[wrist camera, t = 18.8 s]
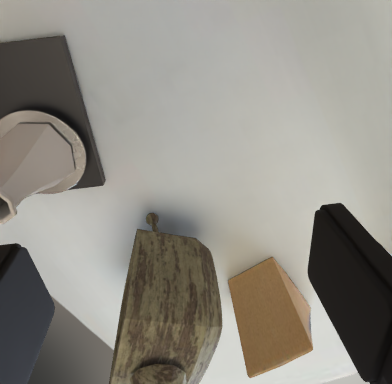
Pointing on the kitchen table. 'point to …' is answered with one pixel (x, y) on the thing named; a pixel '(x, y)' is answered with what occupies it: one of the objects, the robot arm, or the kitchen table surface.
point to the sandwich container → (270, 317)
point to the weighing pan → (63, 130)
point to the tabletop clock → (167, 311)
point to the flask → (30, 164)
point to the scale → (48, 92)
